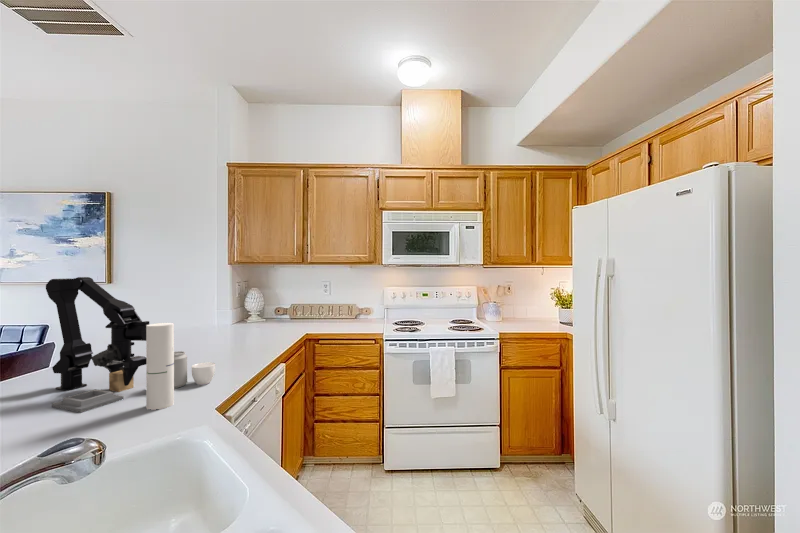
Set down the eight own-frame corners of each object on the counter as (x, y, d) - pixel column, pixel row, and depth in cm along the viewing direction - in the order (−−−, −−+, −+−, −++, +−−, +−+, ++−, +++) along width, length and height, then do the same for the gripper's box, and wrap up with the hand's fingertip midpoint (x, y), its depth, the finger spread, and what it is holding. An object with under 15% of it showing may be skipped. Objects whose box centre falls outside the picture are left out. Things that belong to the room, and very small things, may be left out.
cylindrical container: (179, 403, 117) (179, 323, 117) (158, 411, 110) (157, 326, 110) (162, 400, 119) (162, 322, 119) (140, 408, 112) (140, 325, 113)
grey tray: (52, 406, 114) (52, 398, 114) (95, 394, 126) (95, 387, 126) (80, 412, 109) (80, 404, 110) (123, 399, 121) (123, 391, 121)
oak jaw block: (109, 390, 130) (109, 373, 130) (124, 386, 135) (124, 369, 135) (118, 391, 128) (118, 374, 128) (133, 387, 133) (133, 370, 133)
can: (176, 389, 130) (176, 355, 130) (157, 388, 132) (157, 354, 132) (192, 383, 138) (192, 350, 138) (174, 382, 139) (174, 350, 139)
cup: (199, 387, 132) (199, 368, 132) (184, 383, 137) (184, 365, 138) (219, 382, 139) (219, 364, 139) (204, 378, 144) (204, 360, 144)
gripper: (78, 343, 127) (78, 388, 127) (114, 346, 121) (114, 394, 121) (113, 337, 138) (113, 379, 138) (148, 340, 131) (148, 384, 131)
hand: (121, 384), depth 132 cm, fingers closed on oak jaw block, 5 cm apart
